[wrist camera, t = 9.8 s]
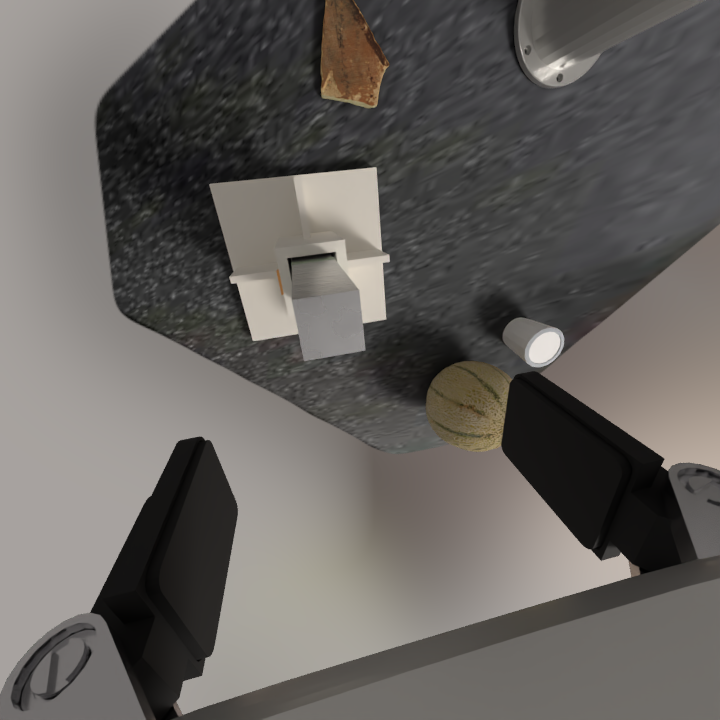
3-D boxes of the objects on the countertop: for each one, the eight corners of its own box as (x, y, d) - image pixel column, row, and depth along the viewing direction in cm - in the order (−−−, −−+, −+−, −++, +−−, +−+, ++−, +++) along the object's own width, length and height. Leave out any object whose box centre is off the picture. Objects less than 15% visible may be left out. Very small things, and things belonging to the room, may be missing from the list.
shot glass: (492, 344, 56) (517, 361, 49) (512, 308, 53) (541, 322, 47) (521, 354, 58) (548, 372, 52) (542, 320, 55) (573, 334, 49)
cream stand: (211, 184, 38) (174, 175, 26) (373, 168, 40) (407, 152, 28) (254, 337, 47) (241, 382, 35) (383, 316, 49) (412, 351, 37)
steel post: (291, 255, 34) (290, 299, 18) (328, 250, 34) (360, 288, 19) (298, 292, 36) (303, 361, 20) (333, 287, 36) (366, 350, 20)
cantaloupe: (397, 391, 56) (429, 448, 43) (456, 330, 53) (511, 371, 40) (447, 428, 62) (489, 487, 49) (503, 375, 59) (564, 424, 46)
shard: (325, -34, 32) (327, -47, 30) (396, -11, 34) (401, -22, 32) (317, 99, 36) (318, 94, 35) (380, 113, 38) (384, 109, 37)
